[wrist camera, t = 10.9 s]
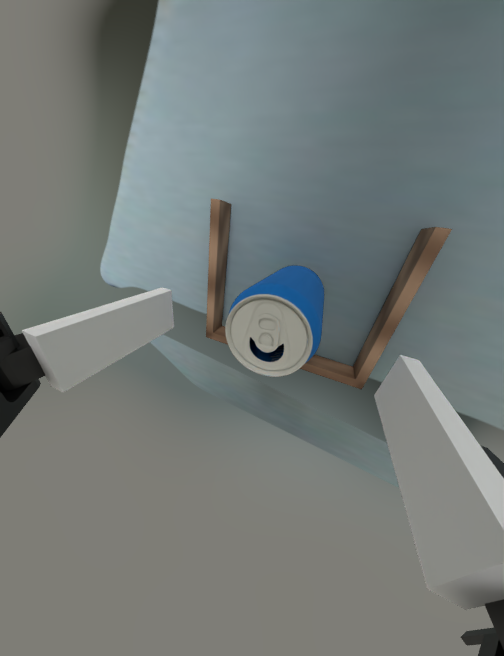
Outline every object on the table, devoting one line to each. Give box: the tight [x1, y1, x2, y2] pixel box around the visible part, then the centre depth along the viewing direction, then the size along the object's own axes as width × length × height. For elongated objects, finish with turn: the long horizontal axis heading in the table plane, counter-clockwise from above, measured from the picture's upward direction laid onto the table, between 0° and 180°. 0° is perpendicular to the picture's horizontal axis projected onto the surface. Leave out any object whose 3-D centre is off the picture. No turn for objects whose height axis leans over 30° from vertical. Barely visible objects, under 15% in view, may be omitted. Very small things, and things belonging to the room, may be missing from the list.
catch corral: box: [206, 199, 452, 389], centre depth 21 cm, size 16×20×2 cm
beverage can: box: [225, 266, 324, 377], centre depth 17 cm, size 6×6×12 cm
